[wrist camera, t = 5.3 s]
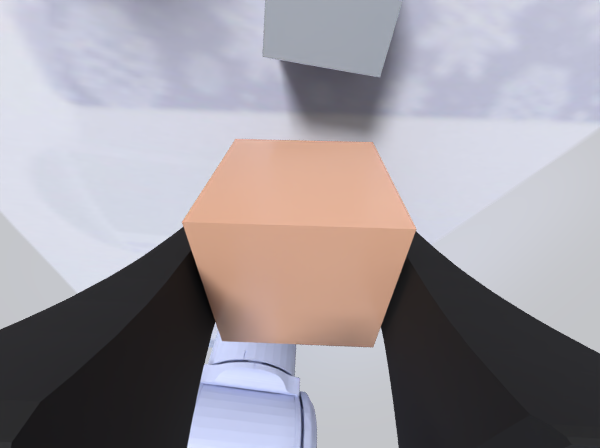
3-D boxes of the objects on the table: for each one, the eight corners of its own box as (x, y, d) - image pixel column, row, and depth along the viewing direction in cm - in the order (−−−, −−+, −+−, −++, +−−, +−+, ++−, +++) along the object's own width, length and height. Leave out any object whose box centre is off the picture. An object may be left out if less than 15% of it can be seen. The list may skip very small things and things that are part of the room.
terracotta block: (354, 244, 13) (373, 347, 9) (250, 241, 13) (222, 341, 9) (372, 142, 9) (416, 229, 6) (235, 139, 10) (182, 222, 6)
